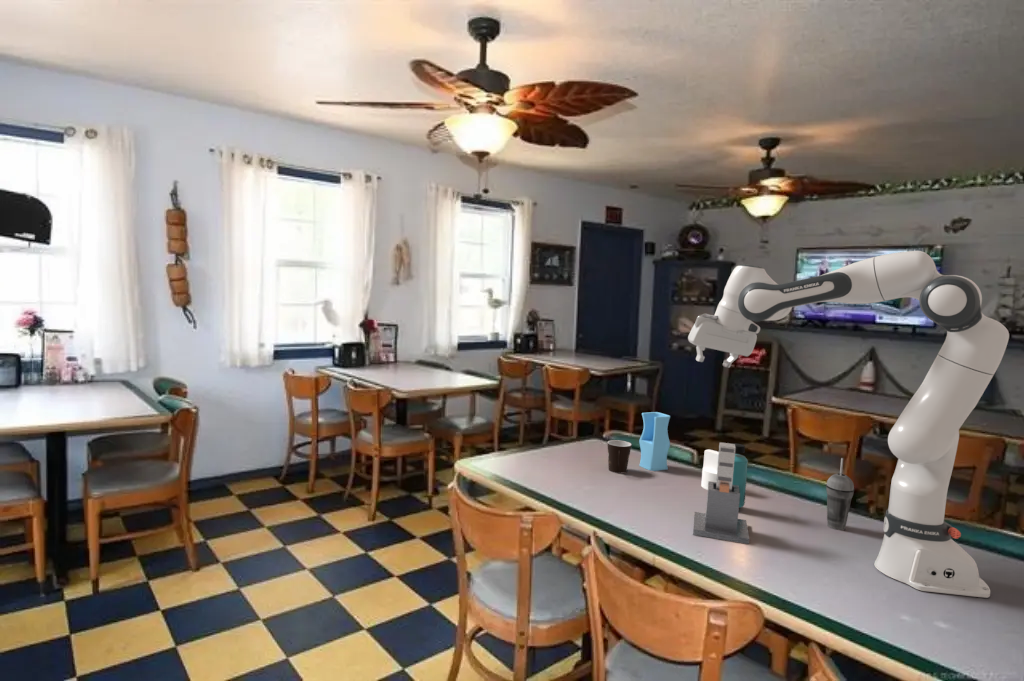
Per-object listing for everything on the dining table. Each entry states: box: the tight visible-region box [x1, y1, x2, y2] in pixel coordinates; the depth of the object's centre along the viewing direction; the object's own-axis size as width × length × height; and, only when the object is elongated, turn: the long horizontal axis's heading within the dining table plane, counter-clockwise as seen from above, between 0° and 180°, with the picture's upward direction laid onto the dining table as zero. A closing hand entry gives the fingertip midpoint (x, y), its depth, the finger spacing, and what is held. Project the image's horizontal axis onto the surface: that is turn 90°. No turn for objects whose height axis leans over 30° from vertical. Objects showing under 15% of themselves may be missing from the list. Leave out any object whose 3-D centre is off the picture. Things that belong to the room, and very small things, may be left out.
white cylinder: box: [700, 448, 719, 491], centre depth 201 cm, size 9×9×12 cm
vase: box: [638, 411, 671, 472], centre depth 221 cm, size 8×8×20 cm
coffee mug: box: [606, 439, 632, 474], centre depth 213 cm, size 12×9×10 cm
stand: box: [692, 481, 750, 545], centre depth 163 cm, size 14×14×14 cm
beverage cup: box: [825, 457, 855, 531], centre depth 170 cm, size 7×7×20 cm
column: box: [716, 442, 736, 492], centre depth 163 cm, size 4×4×22 cm
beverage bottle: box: [732, 443, 749, 508], centre depth 181 cm, size 6×7×20 cm
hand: (712, 363), depth 172 cm, fingers open, 8 cm apart
